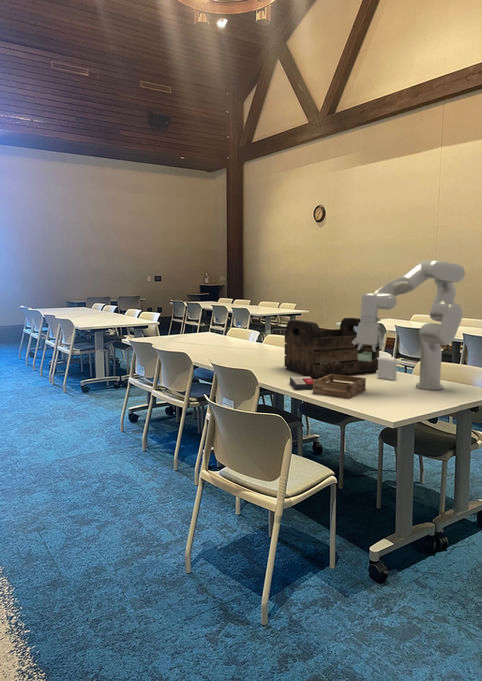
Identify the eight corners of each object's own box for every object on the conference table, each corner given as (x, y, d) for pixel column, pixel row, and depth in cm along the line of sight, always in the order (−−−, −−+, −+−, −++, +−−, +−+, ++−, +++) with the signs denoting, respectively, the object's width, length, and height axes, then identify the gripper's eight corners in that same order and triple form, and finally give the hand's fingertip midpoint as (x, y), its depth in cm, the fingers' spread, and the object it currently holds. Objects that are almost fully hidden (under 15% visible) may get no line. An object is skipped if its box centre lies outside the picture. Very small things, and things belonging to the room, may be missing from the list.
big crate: (330, 385, 240) (330, 374, 239) (365, 390, 230) (365, 378, 229) (312, 393, 223) (312, 381, 223) (349, 398, 213) (349, 385, 212)
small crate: (364, 357, 228) (365, 351, 227) (376, 359, 225) (376, 352, 224) (357, 360, 219) (357, 354, 219) (369, 361, 216) (369, 355, 216)
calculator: (295, 383, 230) (289, 375, 245) (295, 392, 231) (289, 384, 245) (318, 383, 231) (310, 375, 246) (317, 391, 232) (310, 383, 246)
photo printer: (376, 378, 258) (376, 355, 257) (380, 376, 261) (381, 354, 259) (393, 381, 250) (393, 357, 249) (397, 379, 253) (398, 356, 251)
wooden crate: (314, 380, 254) (315, 324, 251) (284, 369, 286) (284, 319, 282) (378, 373, 271) (380, 320, 267) (343, 364, 302) (344, 316, 298)
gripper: (389, 320, 218) (387, 360, 221) (353, 318, 228) (352, 356, 230) (384, 321, 212) (382, 362, 214) (348, 319, 222) (346, 358, 224)
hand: (366, 358), depth 222 cm, fingers closed on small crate, 5 cm apart
